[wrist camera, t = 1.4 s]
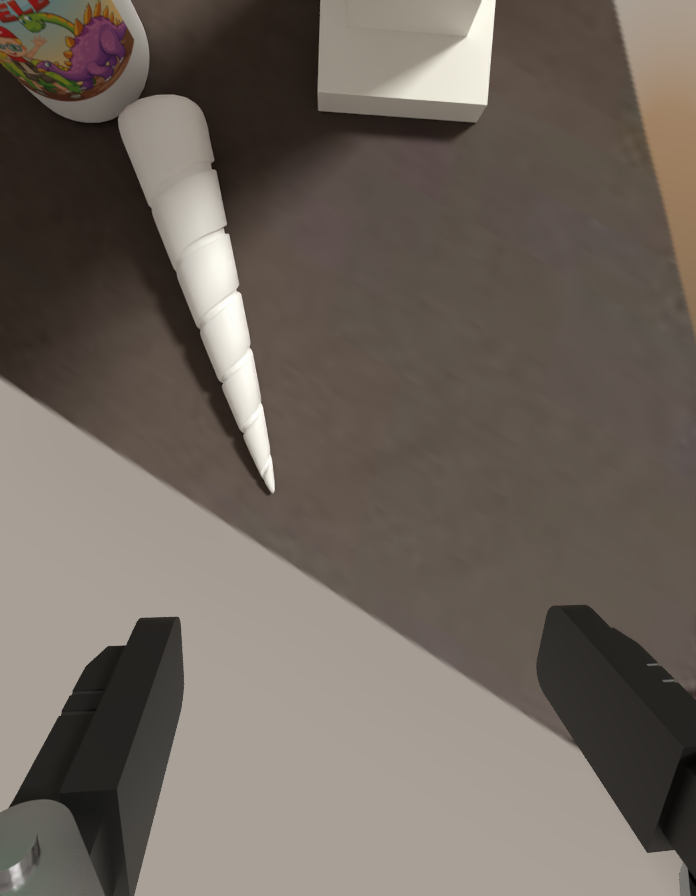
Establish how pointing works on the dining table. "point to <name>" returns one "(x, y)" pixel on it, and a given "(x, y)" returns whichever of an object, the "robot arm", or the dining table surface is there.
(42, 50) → the milk bottle
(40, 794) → the robot arm
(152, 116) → the unicorn horn
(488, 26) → the stand
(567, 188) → the dining table surface
